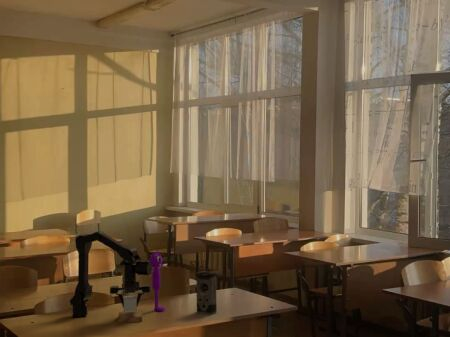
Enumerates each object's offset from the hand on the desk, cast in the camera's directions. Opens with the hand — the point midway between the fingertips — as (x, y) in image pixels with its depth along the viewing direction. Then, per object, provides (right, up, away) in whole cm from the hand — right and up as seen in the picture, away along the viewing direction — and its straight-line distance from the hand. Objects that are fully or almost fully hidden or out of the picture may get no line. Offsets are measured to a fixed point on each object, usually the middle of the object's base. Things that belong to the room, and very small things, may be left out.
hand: (130, 307), depth 291 cm
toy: (+11, -6, +18) cm, 22 cm away
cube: (0, -1, 0) cm, 1 cm away
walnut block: (0, -6, 0) cm, 6 cm away
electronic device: (+36, -6, +13) cm, 39 cm away
